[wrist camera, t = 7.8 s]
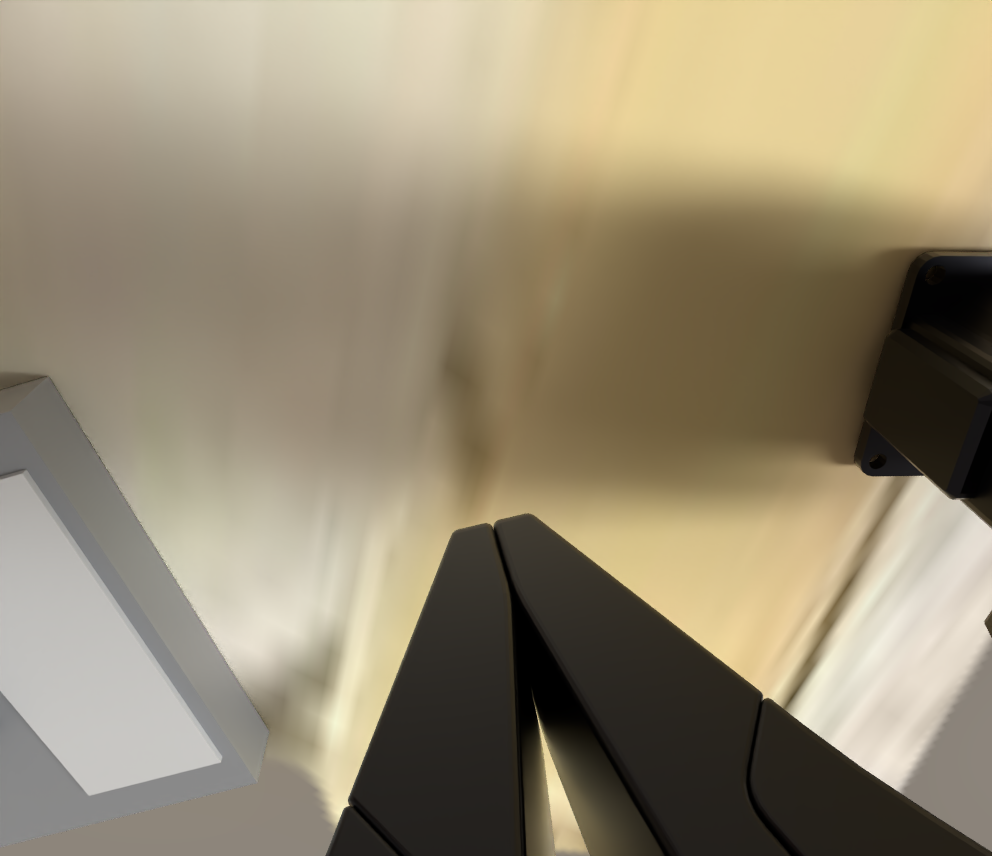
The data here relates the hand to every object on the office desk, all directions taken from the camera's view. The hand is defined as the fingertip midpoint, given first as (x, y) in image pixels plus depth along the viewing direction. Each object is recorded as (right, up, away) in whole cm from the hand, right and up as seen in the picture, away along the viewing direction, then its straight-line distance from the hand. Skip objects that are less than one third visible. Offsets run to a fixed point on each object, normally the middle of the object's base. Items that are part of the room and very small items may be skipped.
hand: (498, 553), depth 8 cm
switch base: (-16, -5, +15) cm, 23 cm away
